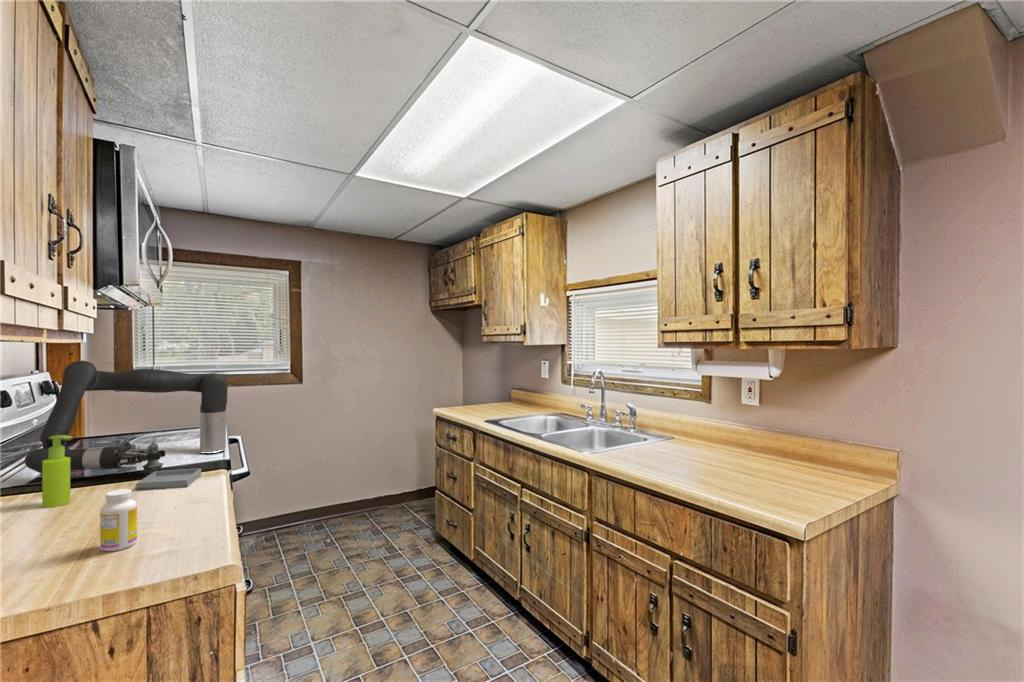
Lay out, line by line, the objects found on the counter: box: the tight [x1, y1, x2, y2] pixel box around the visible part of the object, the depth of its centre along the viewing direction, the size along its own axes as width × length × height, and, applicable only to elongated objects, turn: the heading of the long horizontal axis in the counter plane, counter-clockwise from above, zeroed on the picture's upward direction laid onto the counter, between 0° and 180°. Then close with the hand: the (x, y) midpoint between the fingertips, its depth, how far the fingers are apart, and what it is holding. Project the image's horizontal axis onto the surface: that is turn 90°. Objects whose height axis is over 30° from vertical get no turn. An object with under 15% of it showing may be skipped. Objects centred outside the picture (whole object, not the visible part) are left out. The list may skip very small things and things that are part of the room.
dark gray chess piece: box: [142, 441, 164, 471], centre depth 167 cm, size 6×6×12 cm
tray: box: [135, 468, 202, 492], centre depth 159 cm, size 14×14×2 cm
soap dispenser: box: [41, 435, 74, 508], centre depth 138 cm, size 6×7×20 cm
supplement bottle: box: [99, 488, 138, 552], centre depth 112 cm, size 7×7×13 cm
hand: (162, 454), depth 168 cm, fingers closed on dark gray chess piece, 3 cm apart
